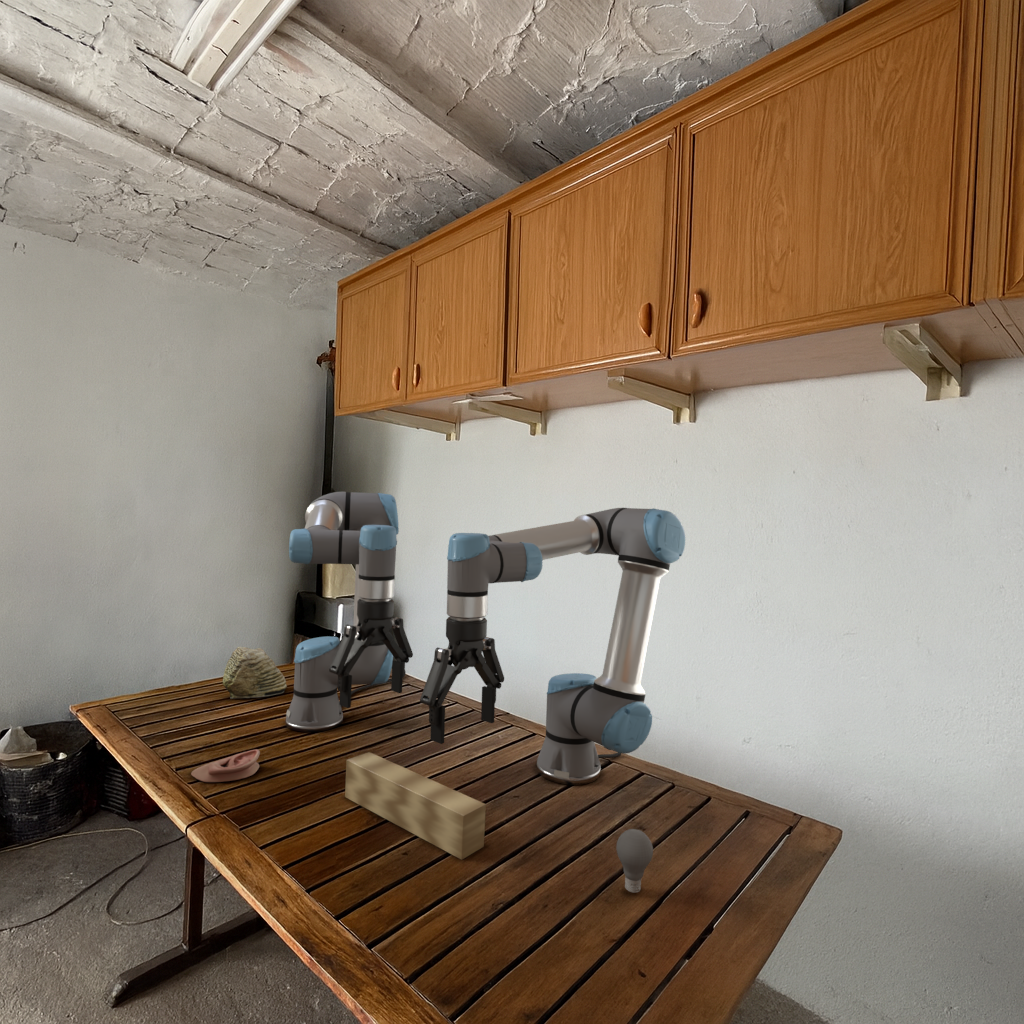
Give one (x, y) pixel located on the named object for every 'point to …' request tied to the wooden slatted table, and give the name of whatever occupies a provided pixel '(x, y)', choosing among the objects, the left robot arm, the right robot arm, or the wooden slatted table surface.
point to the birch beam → (417, 804)
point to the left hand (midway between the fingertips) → (371, 698)
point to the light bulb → (634, 857)
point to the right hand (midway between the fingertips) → (463, 731)
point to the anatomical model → (229, 768)
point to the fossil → (252, 674)
